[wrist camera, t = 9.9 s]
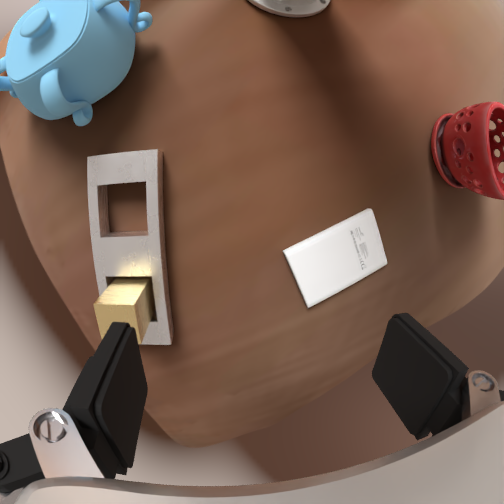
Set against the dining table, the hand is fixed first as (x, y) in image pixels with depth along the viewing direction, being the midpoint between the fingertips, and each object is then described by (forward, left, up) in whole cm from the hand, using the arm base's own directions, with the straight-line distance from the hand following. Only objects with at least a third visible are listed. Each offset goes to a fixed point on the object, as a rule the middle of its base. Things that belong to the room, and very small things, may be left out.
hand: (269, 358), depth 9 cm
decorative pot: (-22, -19, -24) cm, 37 cm away
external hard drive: (+3, +13, -24) cm, 28 cm away
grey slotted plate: (+2, -12, -23) cm, 26 cm away
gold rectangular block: (+7, -11, -23) cm, 27 cm away
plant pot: (-13, +33, -24) cm, 43 cm away
